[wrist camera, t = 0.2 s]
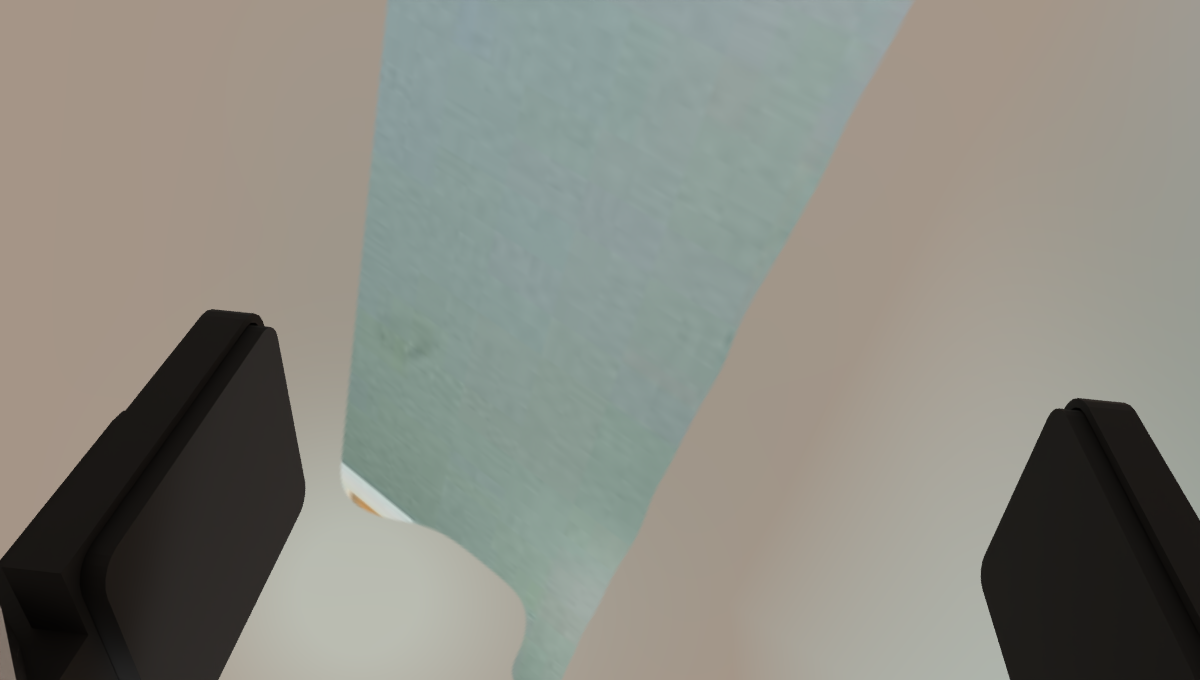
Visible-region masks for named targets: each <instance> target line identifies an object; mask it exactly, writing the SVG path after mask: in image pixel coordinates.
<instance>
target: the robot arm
mask: <svg viewBox="0 0 1200 680" xmlns="http://www.w3.org/2000/svg"><path fill="white" fill-rule="evenodd" d="M304 497H305V480H304V475H303V469H302V464H301V459H300V454H299V448H298V443H297V438H296V432H295V427H294V421H293V416H292V411H291V405H290V401H289V396H288V390H287V384H286V379H285V374H284V368H283V363H282V358H281V353H280V348H279V342H278V337H277V334H276V331H275V330H274V329H273V328H271V327H265V326H264V324H263V321H262V320H261V318H260V316H259V315H256V314H253V313H242V312H234V311H224V310H214V309H211V310H207V311H206V312H205V313H204V314H203V315H202V316H201V317H200V318H199V320H198V321H197V322H196V323H195V325H194V326H193V327H192V328H191V329H190V331H189V332H188V333H187V334H186V336H185V337H184V338H183V339H182V341H181V342H180V343H179V344H178V346H177V347H176V348H175V350H174V351H173V352H172V353H171V354H170V356H169V357H168V358H167V359H166V361H165V362H164V363H163V364H162V366H161V367H160V368H159V369H158V371H157V372H156V373H155V375H154V376H153V377H152V378H151V379H150V381H149V382H148V383H147V384H146V386H145V387H144V388H143V389H142V391H141V392H140V393H139V394H138V396H137V397H136V398H135V399H134V401H133V402H132V403H131V404H130V406H129V407H128V408H127V409H126V411H123V412H121V413H120V414H119V415H118V416H117V417H116V418H115V419H114V420H113V421H112V422H111V423H110V425H109V426H108V427H107V429H106V430H105V431H104V432H103V434H102V435H101V436H100V437H99V438H98V440H97V441H96V442H95V443H94V445H93V446H92V447H91V448H90V450H89V451H88V452H87V453H86V454H85V456H84V457H83V458H82V459H81V461H80V462H79V463H78V464H77V466H76V467H75V468H74V469H73V471H72V472H71V473H70V474H69V476H68V477H67V478H66V479H65V481H64V482H63V483H62V484H61V485H60V487H59V488H58V489H57V491H56V492H55V493H54V494H53V495H52V497H51V498H50V499H49V500H48V502H47V503H46V504H45V506H44V507H43V508H42V509H41V510H40V512H39V513H38V514H37V515H36V517H35V518H34V519H33V520H32V522H31V523H30V524H29V525H28V527H27V528H26V529H25V530H24V532H23V533H22V534H21V535H20V536H19V538H18V539H17V540H16V541H15V543H14V544H13V545H12V546H11V548H10V549H9V550H8V551H7V553H6V554H5V555H4V556H3V557H2V559H1V560H0V680H218V679H219V677H220V675H221V673H222V671H223V669H224V667H225V665H226V663H227V661H228V659H229V657H230V655H231V653H232V651H233V649H234V647H235V645H236V643H237V640H238V638H239V636H240V634H241V632H242V630H243V628H244V626H245V624H246V622H247V620H248V618H249V616H250V614H251V612H252V610H253V608H254V606H255V604H256V602H257V600H258V597H259V595H260V593H261V592H262V589H263V587H264V585H265V583H266V581H267V579H268V577H269V575H270V573H271V571H272V569H273V567H274V565H275V563H276V561H277V559H278V557H279V555H280V553H281V551H282V549H283V546H284V544H285V542H286V541H287V538H288V536H289V534H290V532H291V530H292V528H293V526H294V524H295V522H296V520H297V518H298V516H299V514H300V512H301V509H302V506H303V502H304ZM981 584H982V589H983V592H984V596H985V599H986V602H987V605H988V609H989V612H990V615H991V618H992V622H993V625H994V628H995V632H996V635H997V638H998V642H999V644H1000V648H1001V651H1002V655H1003V658H1004V661H1005V664H1006V668H1007V671H1008V674H1009V677H1010V680H1200V520H1199V518H1198V517H1197V515H1196V513H1195V512H1194V510H1193V508H1192V507H1191V505H1190V503H1189V501H1188V500H1187V498H1186V496H1185V495H1184V493H1183V491H1182V490H1181V488H1180V486H1179V484H1178V483H1177V481H1176V479H1175V478H1174V476H1173V474H1172V472H1171V471H1170V469H1169V468H1168V466H1167V464H1166V463H1165V461H1164V459H1163V457H1162V456H1161V454H1160V452H1159V450H1158V449H1157V447H1156V445H1155V444H1154V442H1153V440H1152V439H1151V437H1150V435H1149V434H1148V432H1147V430H1146V429H1145V427H1144V425H1143V423H1142V422H1141V420H1140V418H1139V417H1138V415H1137V413H1136V411H1135V410H1134V409H1133V408H1132V407H1131V406H1130V405H1128V404H1126V403H1121V402H1111V401H1101V400H1091V399H1081V398H1077V399H1073V400H1072V401H1070V402H1069V403H1068V404H1067V405H1066V407H1065V409H1055V410H1053V411H1052V412H1051V413H1050V415H1049V417H1048V419H1047V421H1046V423H1045V425H1044V427H1043V430H1042V432H1041V434H1040V436H1039V438H1038V440H1037V443H1036V445H1035V447H1034V449H1033V451H1032V454H1031V456H1030V458H1029V460H1028V462H1027V465H1026V467H1025V469H1024V471H1023V473H1022V475H1021V477H1020V480H1019V482H1018V484H1017V486H1016V488H1015V491H1014V493H1013V495H1012V497H1011V499H1010V501H1009V503H1008V506H1007V508H1006V510H1005V512H1004V514H1003V517H1002V519H1001V521H1000V523H999V526H998V528H997V530H996V532H995V534H994V536H993V538H992V540H991V543H990V545H989V547H988V549H987V551H986V554H985V556H984V559H983V561H982V567H981Z"/></svg>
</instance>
